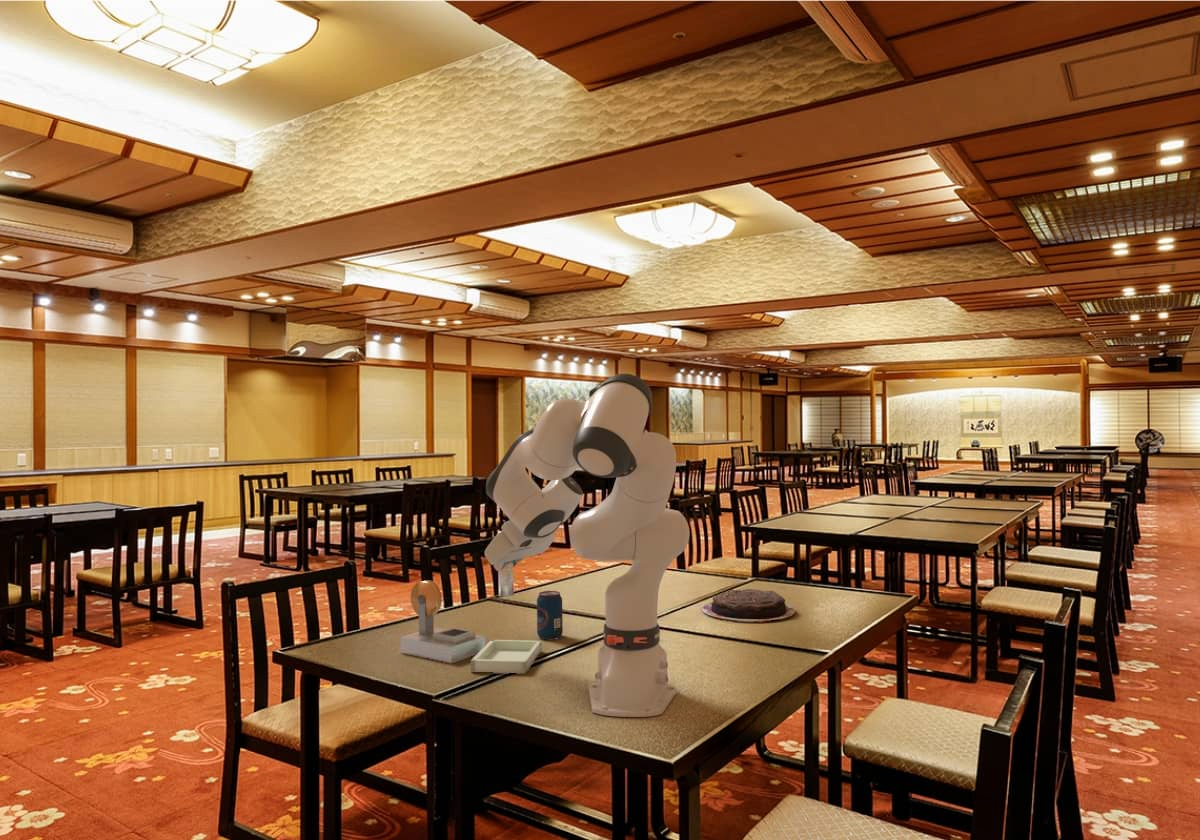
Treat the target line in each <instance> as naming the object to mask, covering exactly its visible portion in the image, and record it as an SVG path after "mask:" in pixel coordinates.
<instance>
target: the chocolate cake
mask: <svg viewBox="0 0 1200 840" xmlns="http://www.w3.org/2000/svg"><path fill="white" fill-rule="evenodd" d="M701 611H702V613H704V614H705V615H706V616H707V617H708V616H709V617H708V618H714V619H715V618H716V620H719V619H720V621H723V620H726V621H725V622H727V621H739V622H738V623H743V622H764V623H767V622H766V621H769V622H772V621H771V620H783V619H784V620H785V619H787V618H790V617H793V616H794V615H795V613H796V610H795V608H794V607H793V606H791V605H789V604H786V599H785V598H784V597H783V596H782V595H780V594H778V593H777V592H776V591H773V590H761V589H752V588H746V589H744V588H743V589H728V590H727V591H724V592H722V593H720V594H717V595H715V596H713V597H712V602H708V603H706V604H705V605H703V606H702V608H701ZM792 615H793V616H792ZM784 620H783V621H784ZM740 621H741V622H740Z"/></svg>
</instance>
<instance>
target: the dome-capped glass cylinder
mask: <svg viewBox="0 0 1200 840" xmlns="http://www.w3.org/2000/svg"><path fill="white" fill-rule="evenodd" d="M504 565H505V566H504V568H503V569H502V570H498V571H497V572H498V573H497V574H498V575H497V576H498V596H499V597H503V598H506V597H507V598H508V597H513V596H514V591H515V590H514V589H515V587H514V567H513V560H512V561H507V562H505V563H504Z"/></svg>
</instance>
